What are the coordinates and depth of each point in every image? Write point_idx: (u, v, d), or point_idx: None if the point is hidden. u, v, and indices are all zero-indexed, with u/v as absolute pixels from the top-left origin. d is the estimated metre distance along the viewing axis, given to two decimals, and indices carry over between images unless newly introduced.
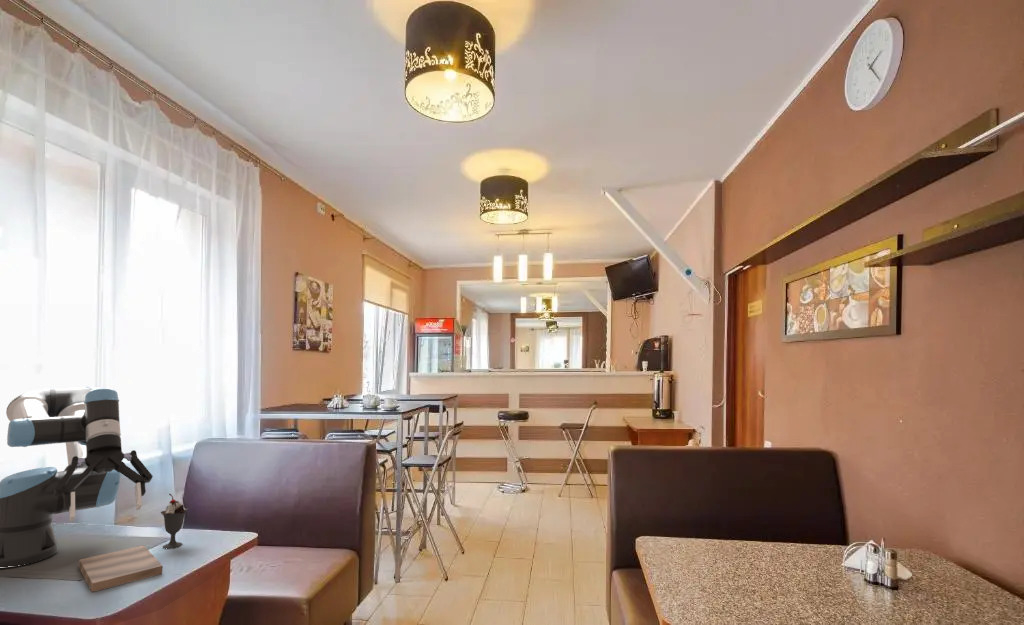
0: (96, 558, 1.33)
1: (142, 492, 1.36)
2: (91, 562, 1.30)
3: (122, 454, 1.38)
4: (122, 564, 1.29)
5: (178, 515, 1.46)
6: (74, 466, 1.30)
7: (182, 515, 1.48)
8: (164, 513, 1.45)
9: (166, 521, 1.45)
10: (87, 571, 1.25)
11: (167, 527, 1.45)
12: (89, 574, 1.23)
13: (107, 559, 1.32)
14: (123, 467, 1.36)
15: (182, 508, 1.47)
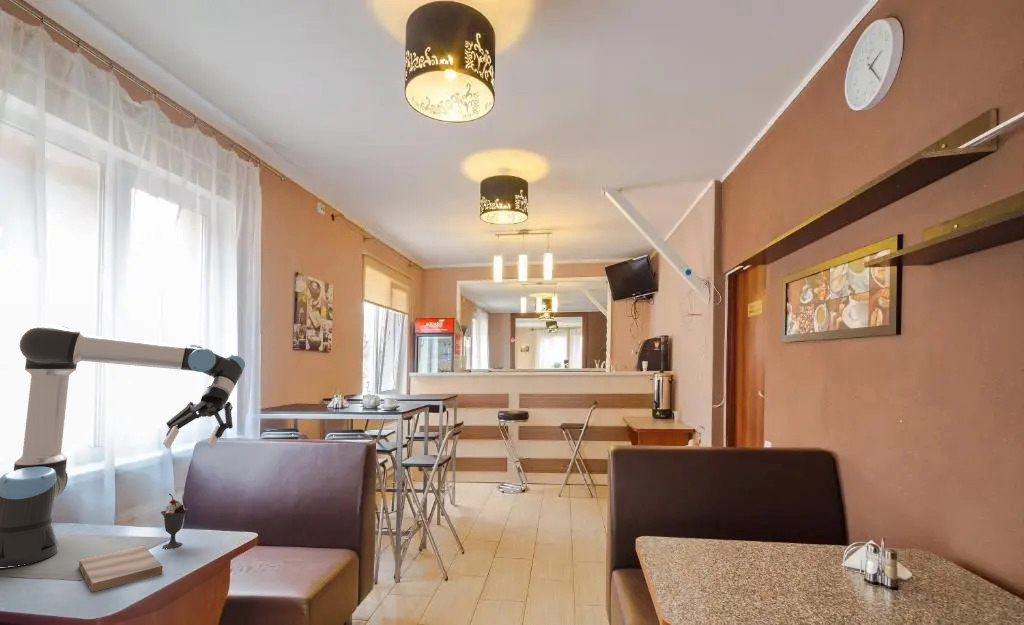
0: (96, 558, 1.33)
1: None
2: (91, 562, 1.30)
3: None
4: (122, 564, 1.29)
5: (178, 515, 1.46)
6: None
7: (182, 515, 1.48)
8: (164, 513, 1.45)
9: (166, 521, 1.45)
10: (87, 571, 1.25)
11: (167, 527, 1.45)
12: (89, 574, 1.23)
13: (107, 559, 1.32)
14: None
15: (182, 508, 1.47)
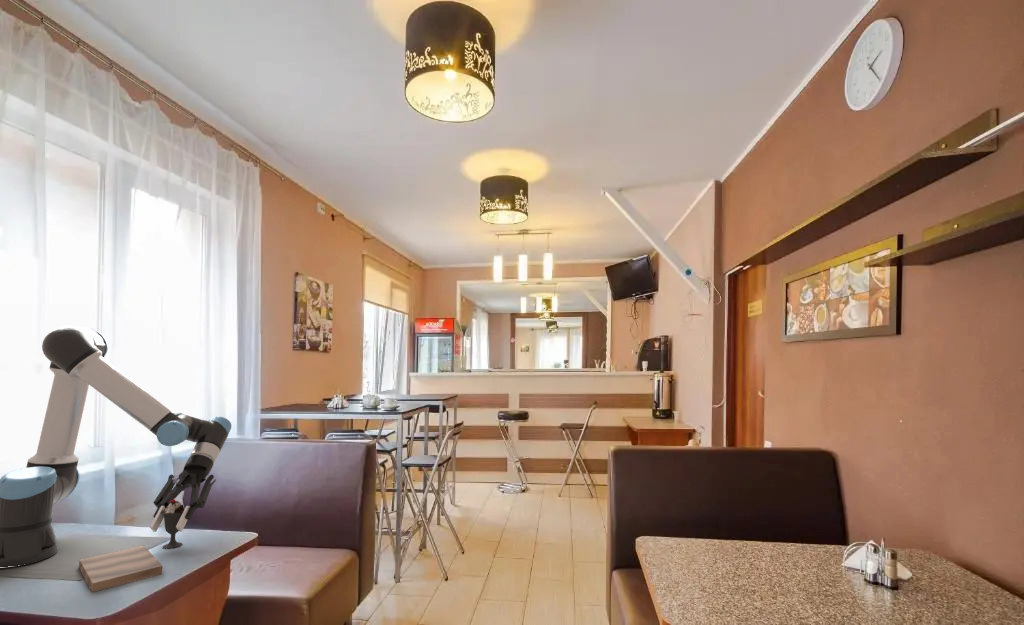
0: (96, 558, 1.33)
1: None
2: (91, 562, 1.30)
3: None
4: (122, 564, 1.29)
5: (178, 515, 1.46)
6: None
7: None
8: (164, 513, 1.45)
9: (166, 521, 1.45)
10: (87, 571, 1.25)
11: (167, 527, 1.45)
12: (89, 574, 1.23)
13: (107, 559, 1.32)
14: None
15: (182, 508, 1.47)
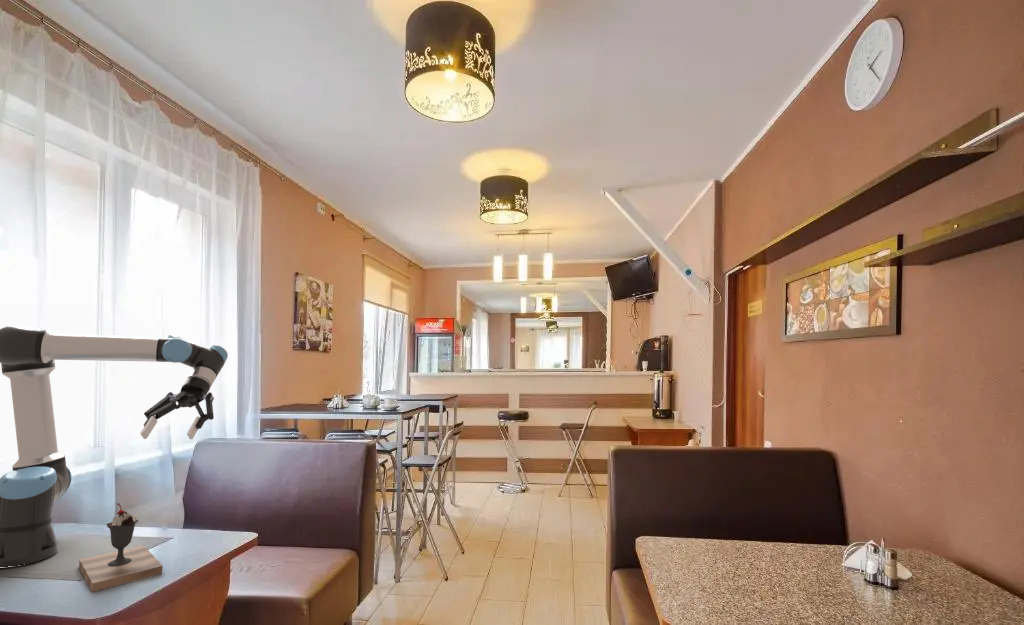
0: (96, 558, 1.33)
1: None
2: (91, 562, 1.30)
3: None
4: None
5: (126, 528, 1.29)
6: None
7: (131, 528, 1.31)
8: (110, 525, 1.29)
9: (112, 534, 1.29)
10: (87, 571, 1.25)
11: (113, 541, 1.29)
12: (89, 574, 1.23)
13: (107, 559, 1.32)
14: None
15: (131, 520, 1.31)
